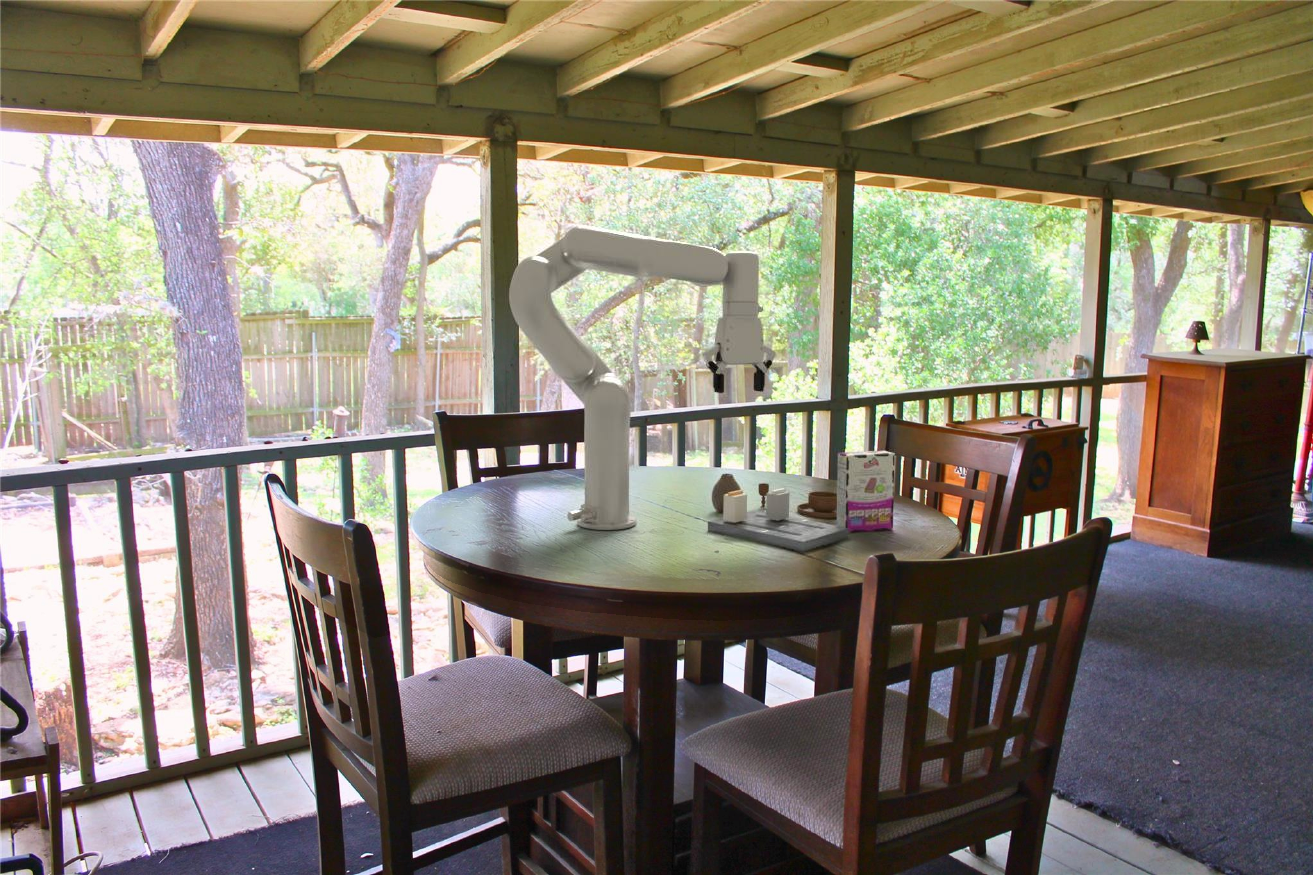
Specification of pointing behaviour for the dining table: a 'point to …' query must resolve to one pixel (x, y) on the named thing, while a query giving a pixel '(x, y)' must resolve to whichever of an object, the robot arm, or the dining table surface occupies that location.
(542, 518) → the dining table surface
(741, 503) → the ivory fader
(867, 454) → the candy bar box
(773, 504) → the grey fader
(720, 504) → the vase
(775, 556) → the dining table surface
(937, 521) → the dining table surface
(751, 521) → the console
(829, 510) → the place setting
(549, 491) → the dining table surface
